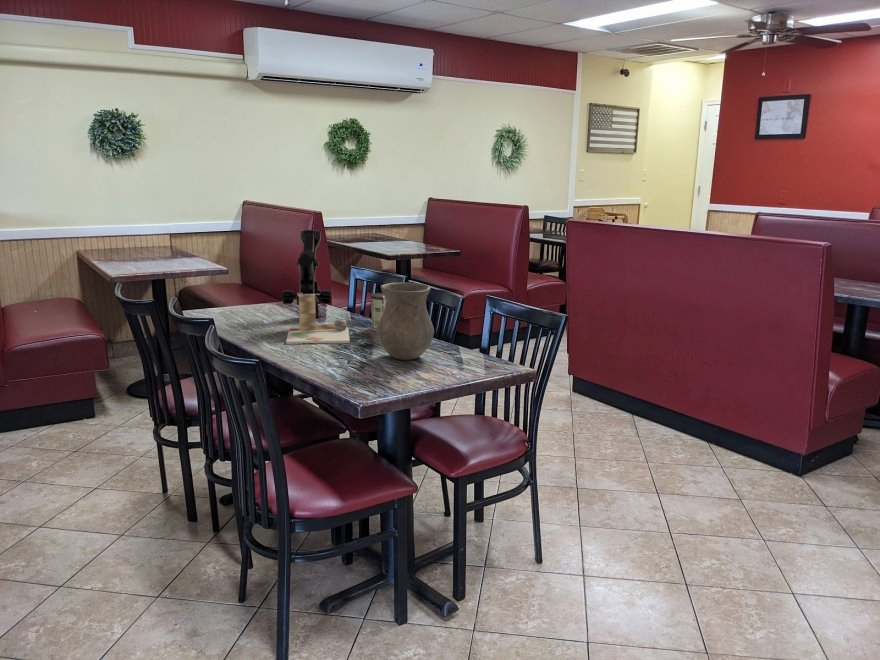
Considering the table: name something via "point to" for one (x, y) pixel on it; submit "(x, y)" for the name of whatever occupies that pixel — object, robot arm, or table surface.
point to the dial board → (318, 336)
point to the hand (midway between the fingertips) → (306, 314)
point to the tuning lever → (313, 316)
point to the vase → (405, 320)
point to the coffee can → (376, 309)
